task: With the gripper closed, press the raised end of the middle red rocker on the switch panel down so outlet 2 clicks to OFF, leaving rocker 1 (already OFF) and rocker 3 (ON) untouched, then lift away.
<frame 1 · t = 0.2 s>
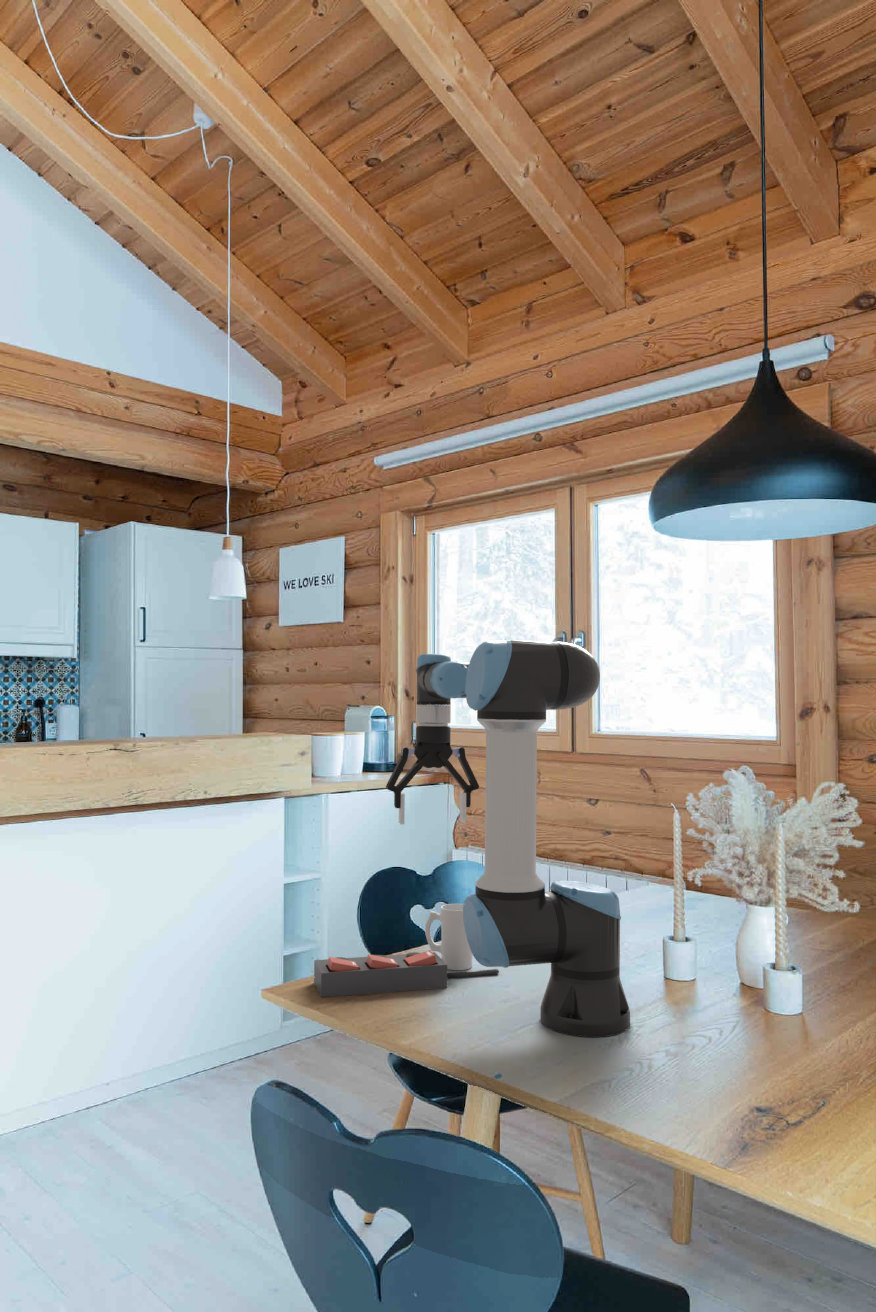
hand: (432, 823, 206), 28 cm above the table, fingers open, 13 cm apart
rocker 2: (382, 962, 180), point 5 cm above the table, hinge at 14.0°
rocker 3: (343, 965, 178), point 5 cm above the table, hinge at 14.0°
rocker 1: (420, 960, 182), point 5 cm above the table, hinge at -14.0°
mug: (449, 966, 195), on the table
switch panel: (380, 985, 182), on the table
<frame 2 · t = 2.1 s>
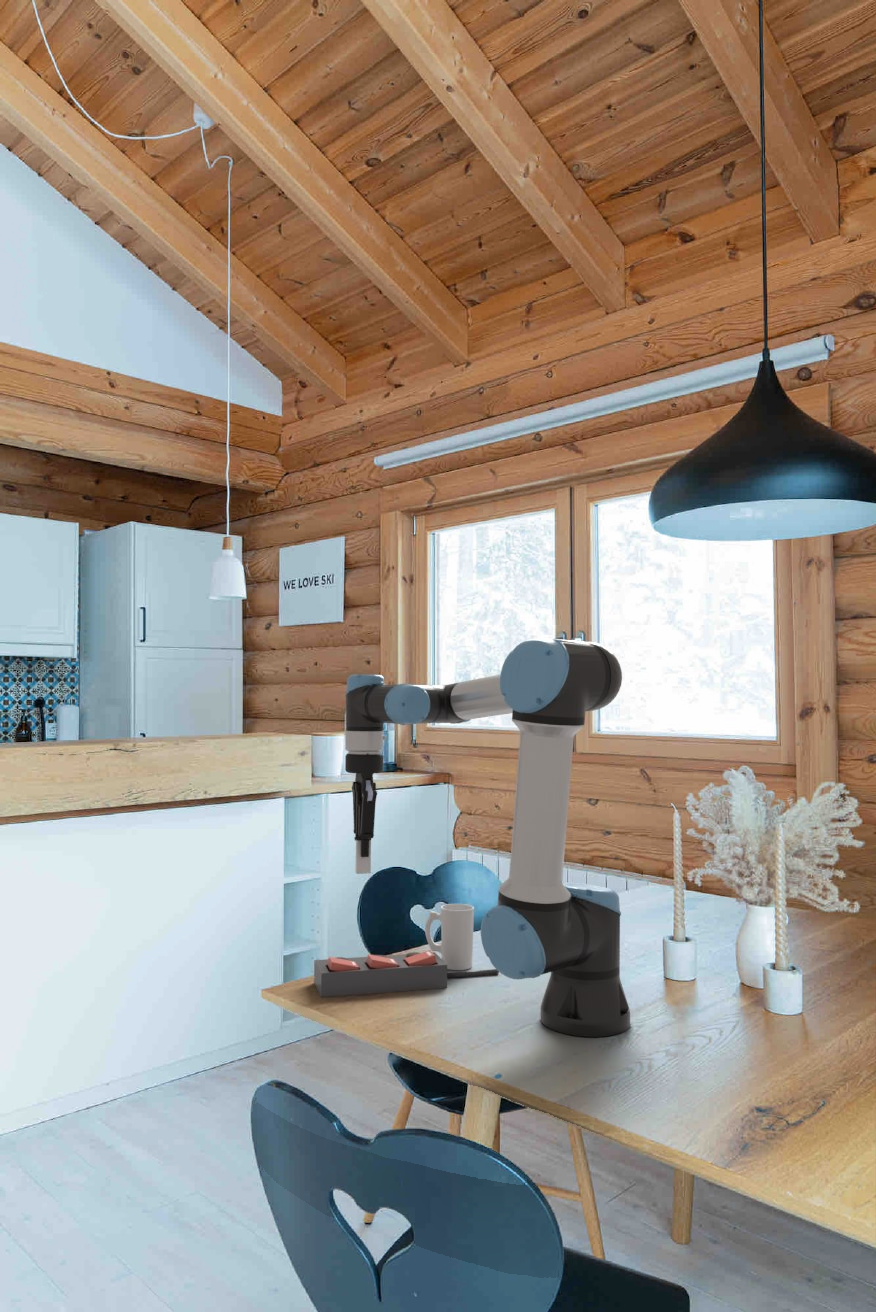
hand: (363, 872, 187), 20 cm above the table, fingers closed
nothing on the table moved.
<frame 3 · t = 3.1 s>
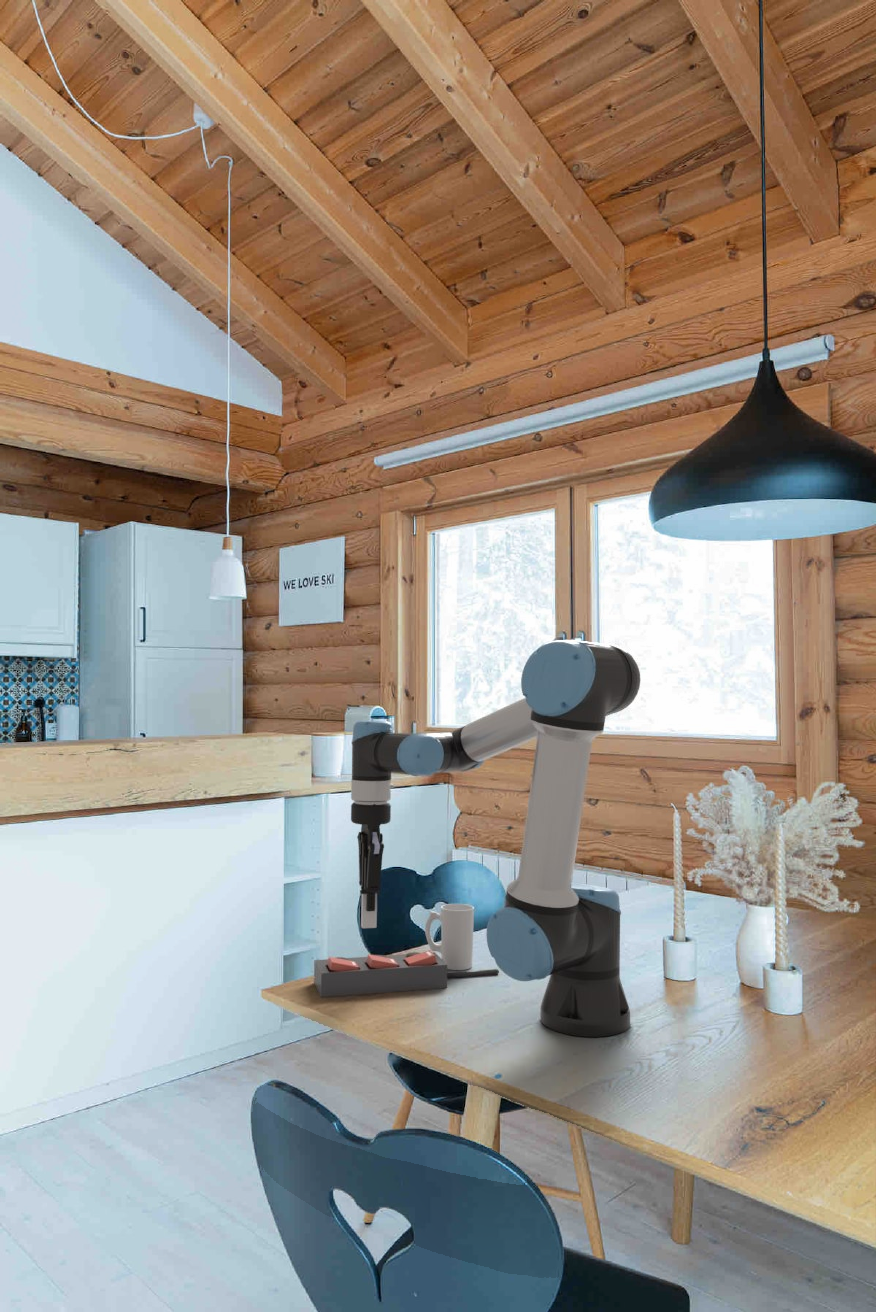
hand: (368, 926, 180), 11 cm above the table, fingers closed
nothing on the table moved.
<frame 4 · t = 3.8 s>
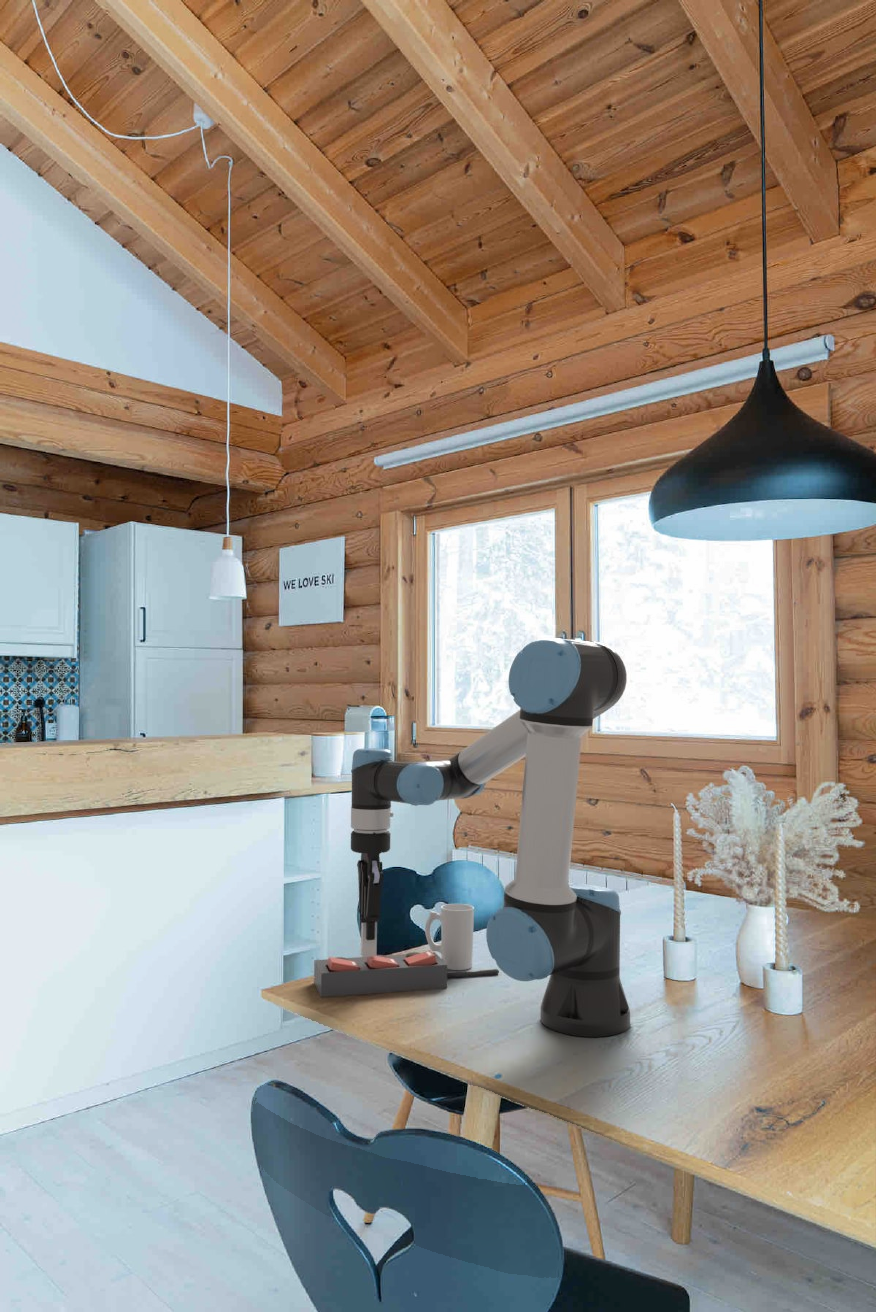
hand: (368, 955, 180), 6 cm above the table, fingers closed
rocker 2: (382, 962, 180), point 5 cm above the table, hinge at 14.0°, touching gripper
everything else where it was.
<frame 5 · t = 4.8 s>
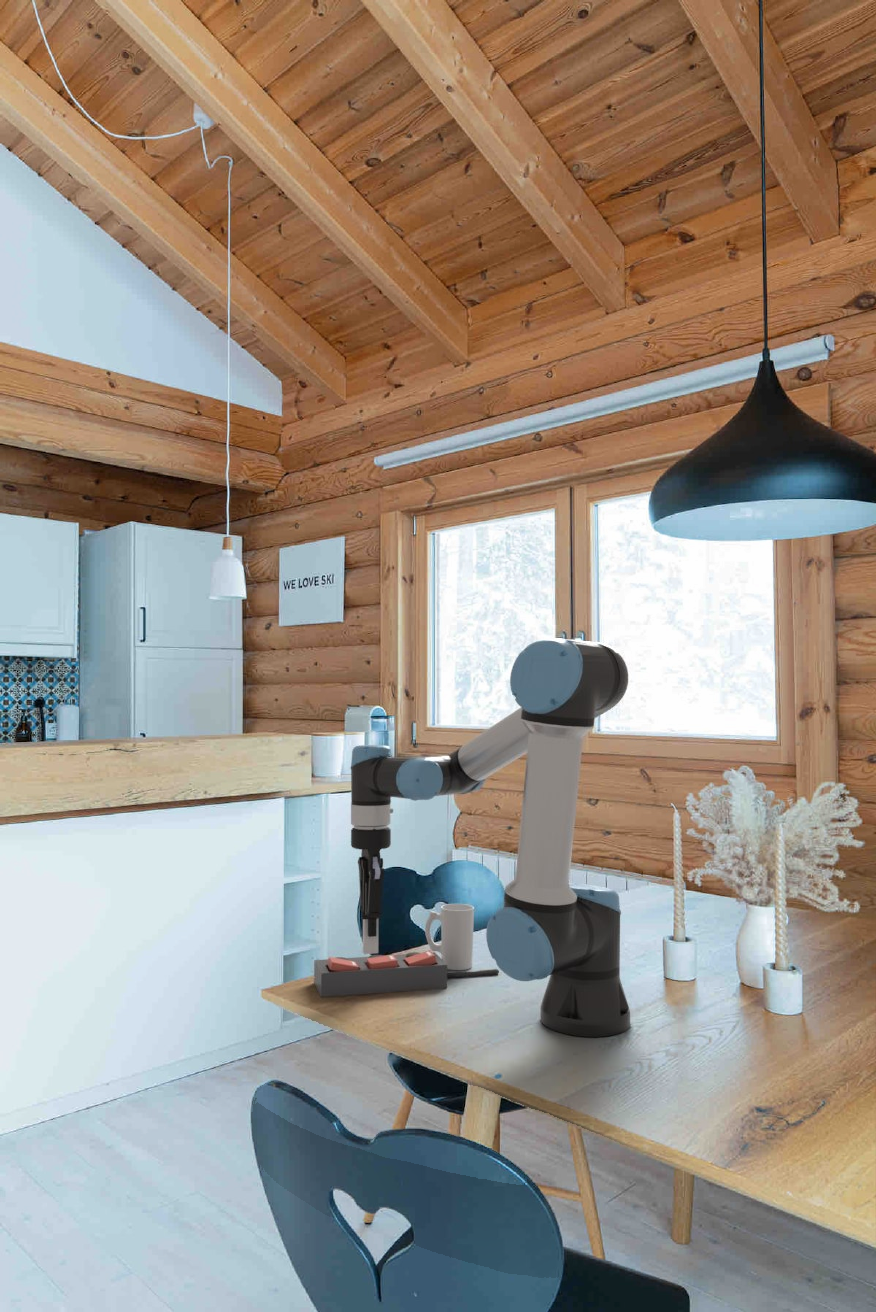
hand: (370, 952, 179), 7 cm above the table, fingers closed
rocker 2: (382, 962, 180), point 5 cm above the table, hinge at -4.3°
everything else where it was.
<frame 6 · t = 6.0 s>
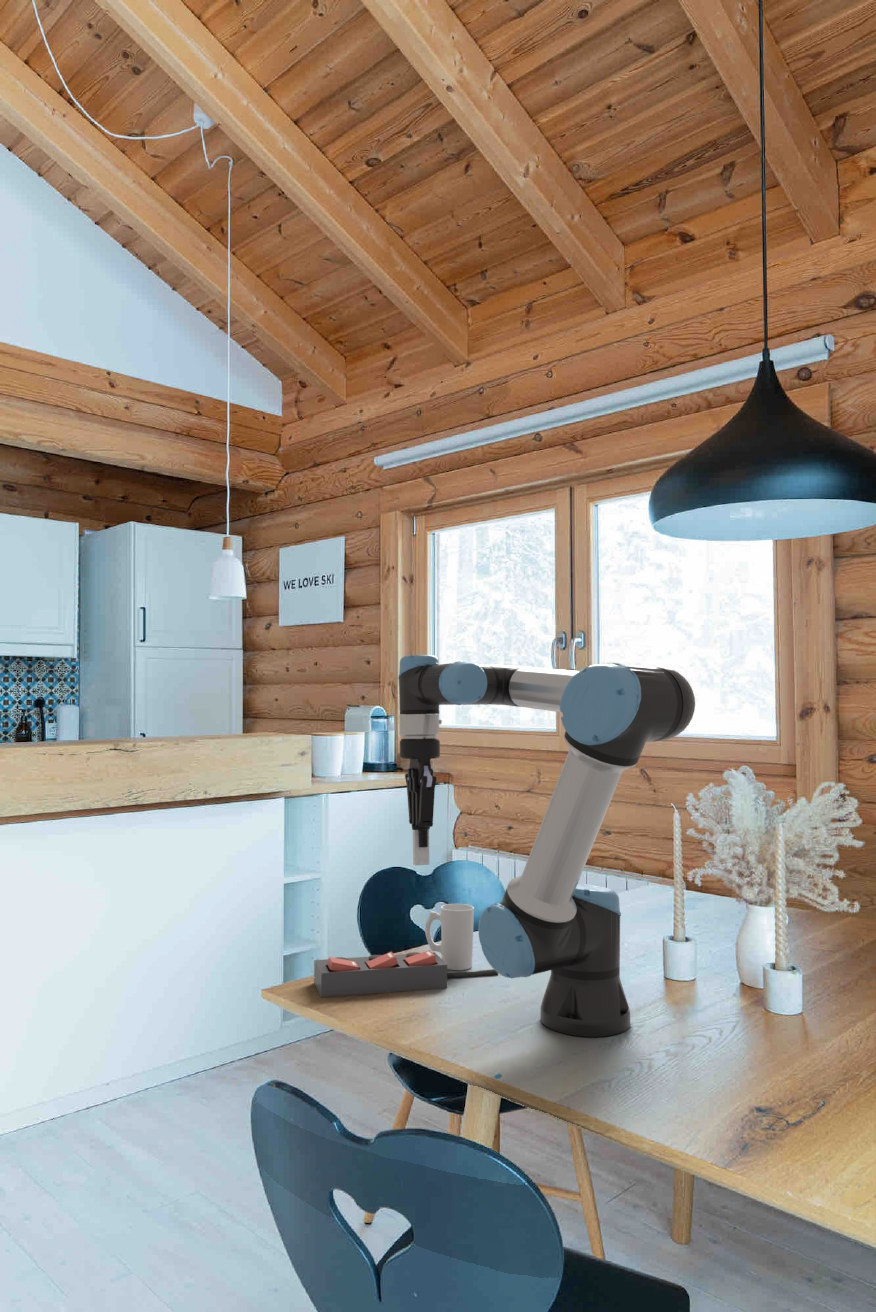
hand: (421, 864, 177), 24 cm above the table, fingers closed
rocker 2: (382, 962, 180), point 5 cm above the table, hinge at -19.7°
everything else where it was.
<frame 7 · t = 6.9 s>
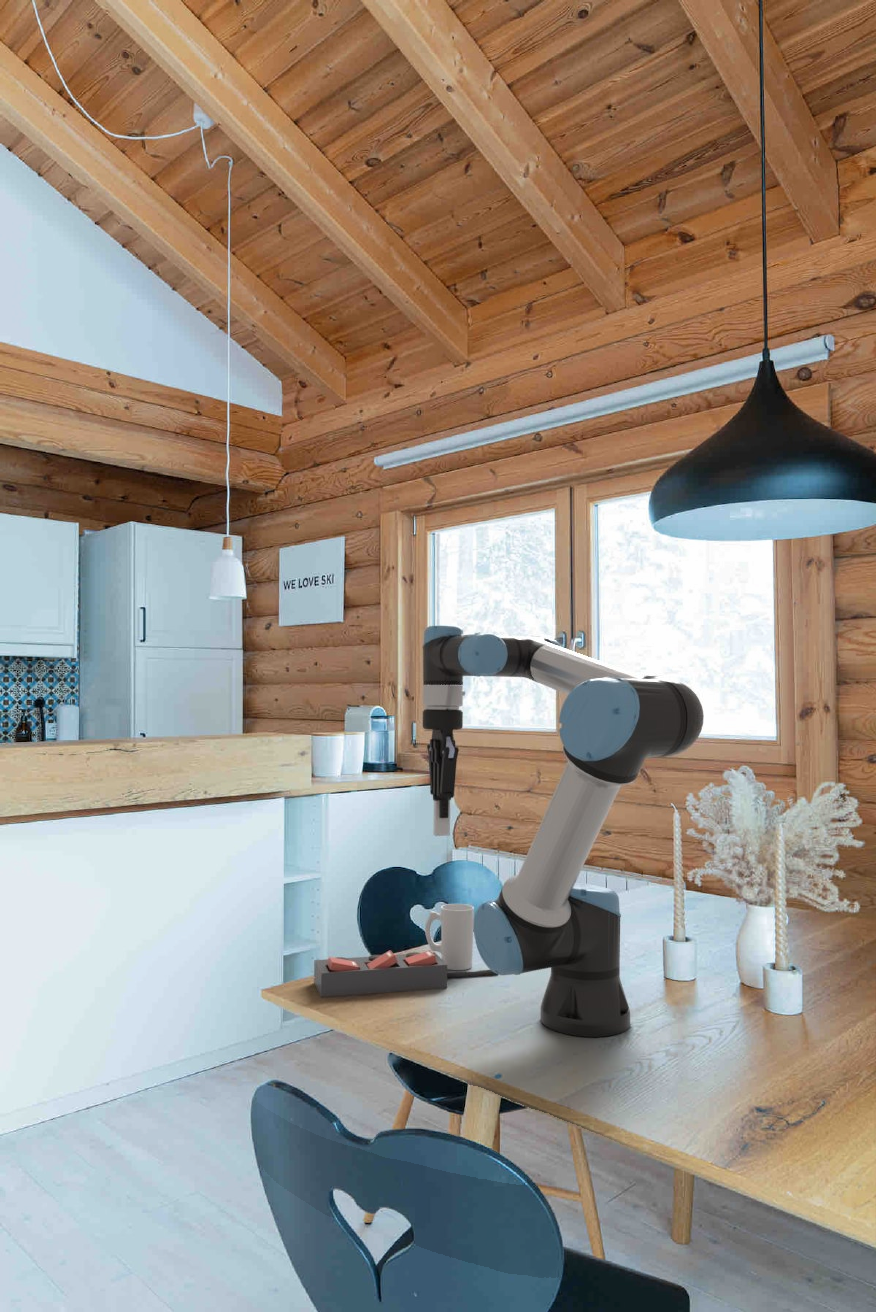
hand: (441, 834, 177), 29 cm above the table, fingers closed
rocker 2: (382, 962, 180), point 5 cm above the table, hinge at -28.0°
everything else where it was.
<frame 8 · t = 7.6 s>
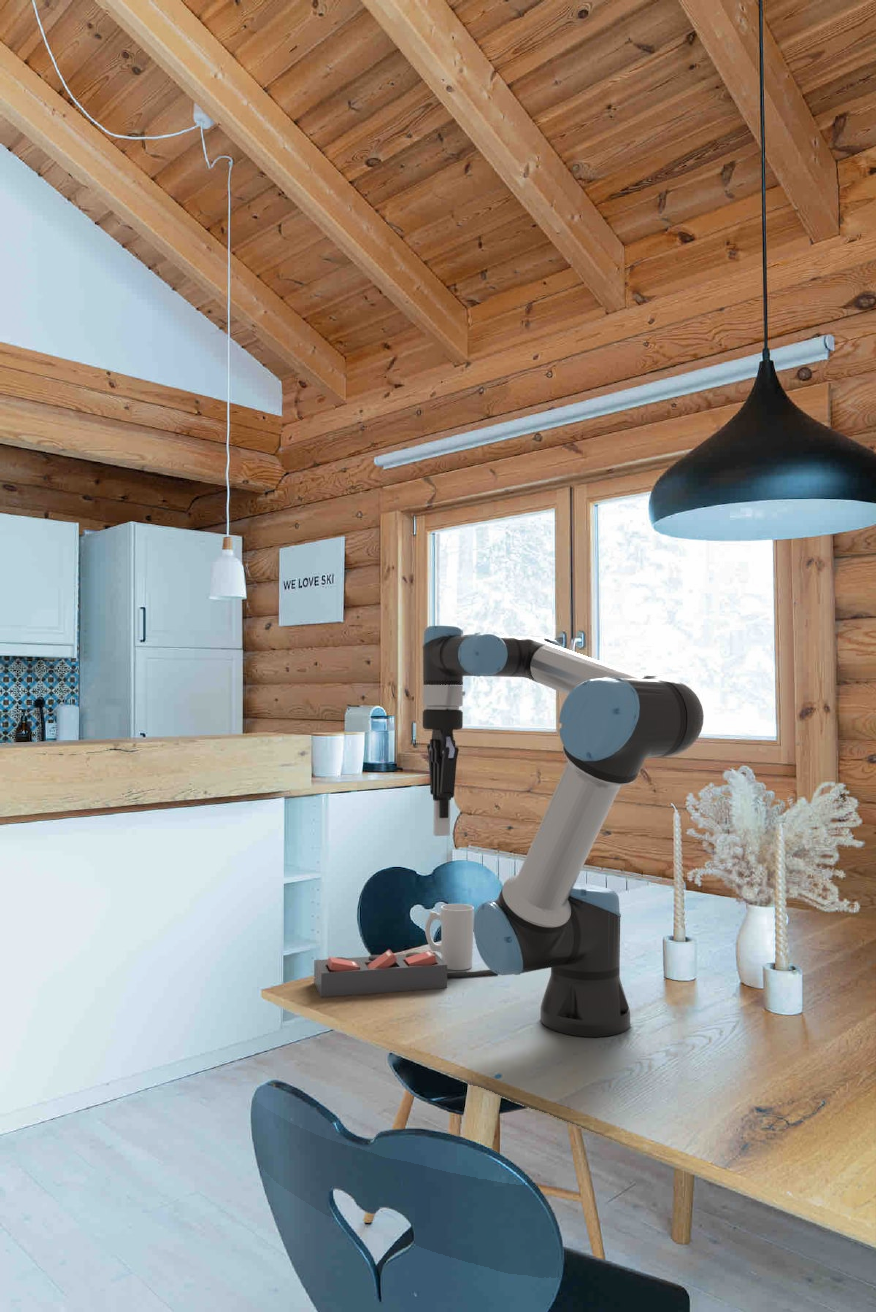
hand: (441, 834, 177), 29 cm above the table, fingers closed
rocker 2: (382, 962, 180), point 5 cm above the table, hinge at -33.0°
everything else where it was.
at the end: rocker 2 at -34° (first picture: +14°); rocker 1 at -14° (first picture: -14°); rocker 3 at +14° (first picture: +14°) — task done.
